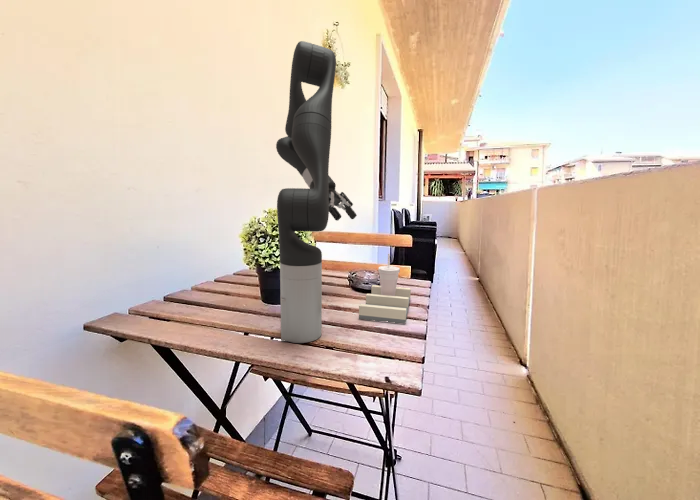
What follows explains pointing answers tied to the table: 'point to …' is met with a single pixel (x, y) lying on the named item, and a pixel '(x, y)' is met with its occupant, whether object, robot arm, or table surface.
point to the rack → (386, 305)
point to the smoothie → (388, 278)
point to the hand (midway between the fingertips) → (347, 218)
